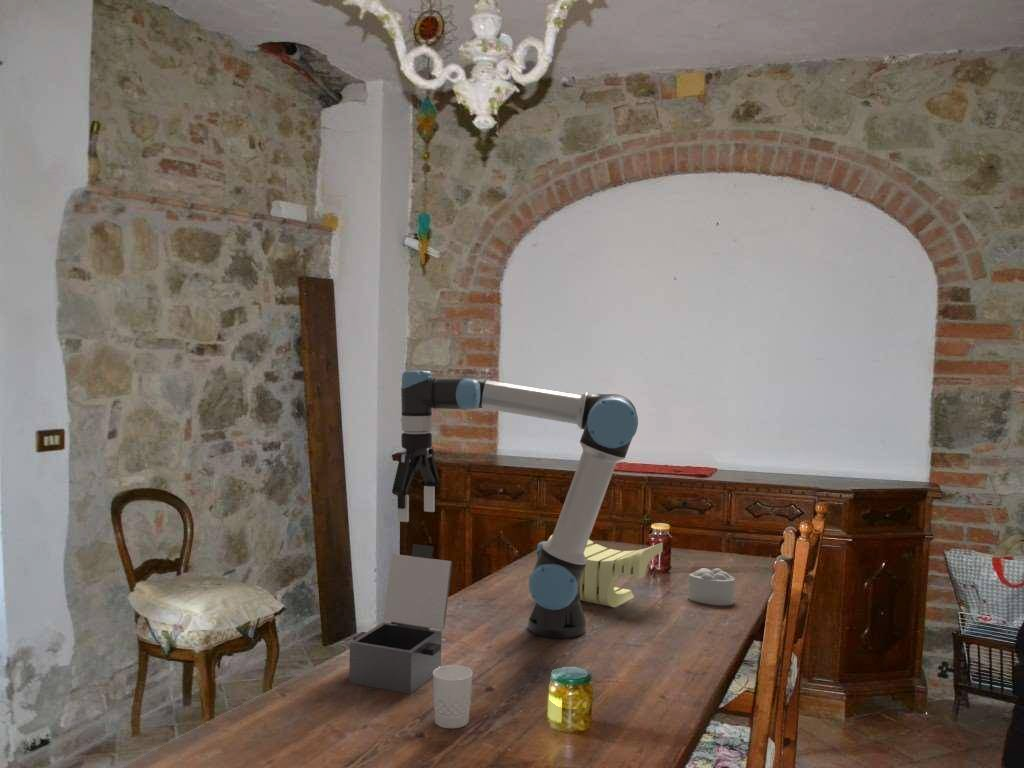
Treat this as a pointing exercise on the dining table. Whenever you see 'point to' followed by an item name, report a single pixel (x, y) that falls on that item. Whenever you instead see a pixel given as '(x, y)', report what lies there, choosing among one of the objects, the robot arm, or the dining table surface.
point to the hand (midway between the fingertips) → (416, 516)
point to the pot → (394, 657)
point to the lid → (418, 589)
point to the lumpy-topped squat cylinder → (711, 587)
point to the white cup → (452, 695)
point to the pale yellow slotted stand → (612, 572)
